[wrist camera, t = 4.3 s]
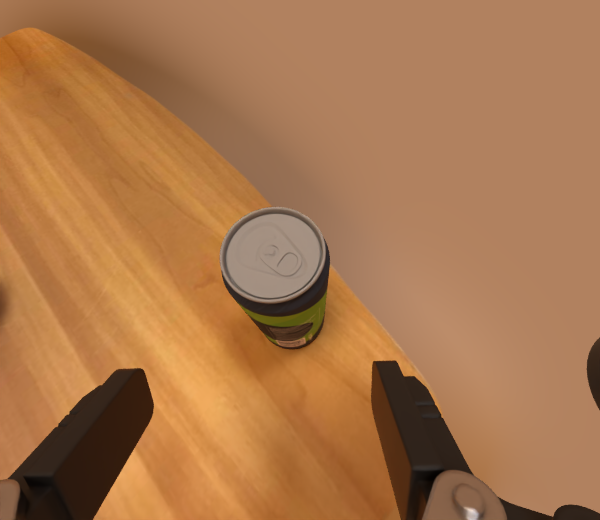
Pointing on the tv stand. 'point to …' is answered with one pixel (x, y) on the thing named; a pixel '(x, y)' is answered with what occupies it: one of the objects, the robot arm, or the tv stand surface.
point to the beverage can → (278, 273)
